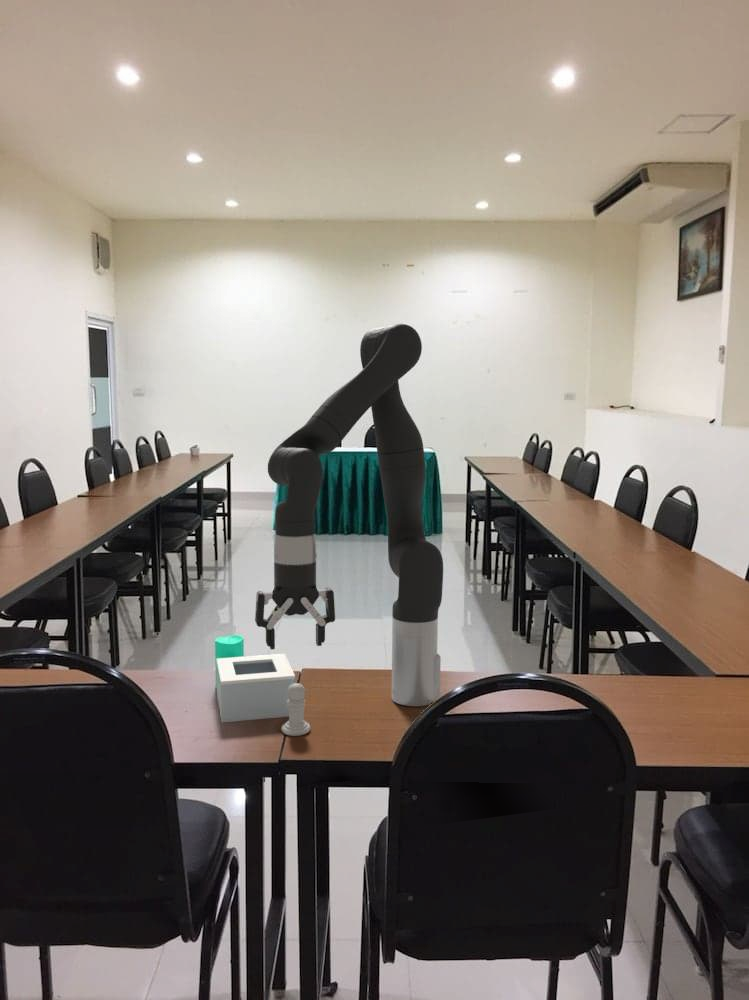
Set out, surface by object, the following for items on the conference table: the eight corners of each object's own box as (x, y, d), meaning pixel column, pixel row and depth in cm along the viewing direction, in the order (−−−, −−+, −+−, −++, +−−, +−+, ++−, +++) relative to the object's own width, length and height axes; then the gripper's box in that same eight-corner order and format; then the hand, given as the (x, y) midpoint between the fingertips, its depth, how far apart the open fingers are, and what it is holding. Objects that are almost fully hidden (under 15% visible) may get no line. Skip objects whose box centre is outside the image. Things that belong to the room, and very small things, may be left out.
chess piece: (316, 731, 143) (316, 684, 142) (293, 739, 139) (292, 691, 138) (298, 722, 146) (298, 676, 145) (275, 730, 143) (275, 683, 142)
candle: (245, 681, 168) (245, 627, 167) (242, 691, 162) (241, 635, 161) (218, 681, 168) (217, 627, 167) (213, 691, 162) (212, 635, 161)
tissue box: (284, 690, 163) (284, 653, 162) (295, 715, 150) (295, 675, 149) (217, 696, 160) (216, 658, 159) (221, 722, 146) (220, 681, 145)
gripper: (329, 553, 144) (329, 638, 146) (253, 556, 141) (253, 643, 143) (338, 561, 137) (338, 650, 139) (257, 564, 134) (258, 655, 136)
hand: (295, 646), depth 141 cm, fingers open, 8 cm apart
